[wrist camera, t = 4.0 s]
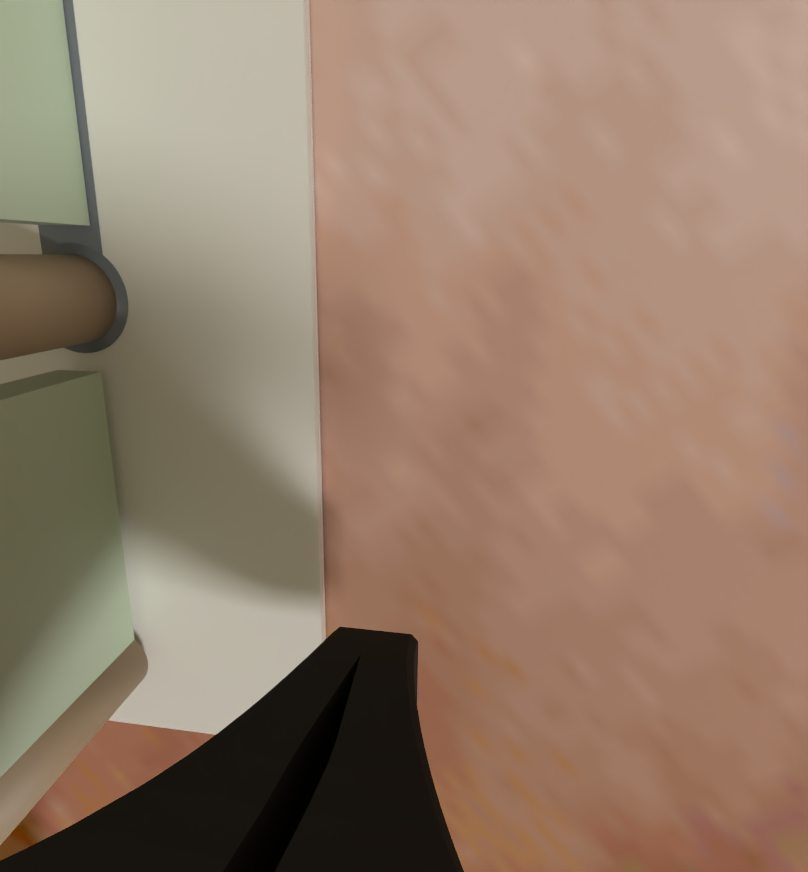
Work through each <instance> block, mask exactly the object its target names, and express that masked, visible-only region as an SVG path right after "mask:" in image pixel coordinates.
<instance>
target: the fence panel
mask: <svg viewBox="0 0 808 872" xmlns="http://www.w3.org/2000/svg"><path fill="white" fill-rule="evenodd" d="M147 671H148V660H147V656H146V654H145V652H144V650H143V648H142V647H141V646H140V644H139V643H138V642H137V641H136V640H134V632H133V624H132V616H131V608H130V600H129V592H128V584H127V576H126V568H125V560H124V552H123V544H122V536H121V528H120V520H119V512H118V504H117V496H116V488H115V480H114V472H113V464H112V456H111V448H110V440H109V432H108V424H107V416H106V408H105V400H104V392H103V384H102V376H101V372H96V371H74V370H55V371H51V372H47V373H43V374H39V375H35V376H31V377H27V378H23V379H19V380H15V381H11V382H7V383H3V384H0V845H1V844H2V843H3V842H4V840H5V839H6V838H7V837H8V836H9V835H10V833H11V832H12V831H13V830H14V829H15V828H16V826H17V825H18V824H19V823H20V822H21V821H22V820H23V818H24V817H25V816H26V815H27V814H28V813H29V811H30V810H31V809H32V808H33V807H34V806H35V804H36V803H37V802H38V801H39V800H40V799H41V797H42V796H43V795H44V794H45V793H46V792H47V790H48V789H49V788H50V787H51V786H52V785H53V784H54V782H55V781H56V780H57V779H58V778H59V777H60V775H61V774H62V773H63V772H64V771H65V770H66V768H67V767H68V766H69V765H70V764H71V763H72V761H73V760H74V759H75V758H76V757H77V756H78V754H79V753H80V752H81V751H82V750H83V749H84V747H85V746H86V745H87V744H88V743H89V742H90V741H91V739H92V738H93V737H94V736H95V735H96V734H97V732H98V731H99V730H100V729H101V728H102V727H103V725H104V724H105V723H106V722H107V721H108V720H109V718H110V717H111V716H112V715H113V714H114V713H115V711H116V710H117V709H118V708H119V707H120V706H121V704H122V703H123V702H124V701H125V700H126V699H127V698H128V696H129V695H130V694H131V693H132V692H133V691H134V689H135V688H136V687H137V686H138V685H139V684H140V682H141V681H142V680H143V679H144V678H145V676H146V674H147Z"/></svg>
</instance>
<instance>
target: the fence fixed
mask: <svg viewBox="0 0 808 872" xmlns="http://www.w3.org/2000/svg"><path fill="white" fill-rule="evenodd" d="M0 222H3V223H18V224H33V225H77V226H90V222H89V214H88V206H87V197H86V189H85V181H84V173H83V165H82V156H81V148H80V140H79V132H78V124H77V115H76V107H75V99H74V91H73V83H72V74H71V66H70V58H69V50H68V42H67V33H66V25H65V17H64V9H63V1H62V0H0ZM116 311H117V301H116V295H115V291H114V288H113V286H112V283H111V282H110V280H109V278H108V276H107V275H106V274H105V272H104V271H103V270H102V269H101V268H100V267H99V266H98V265H97V264H95V263H94V262H93V261H91V260H89V259H87V258H85V257H82V256H79V255H71V254H0V360H5V359H10V358H15V357H20V356H25V355H29V354H34V353H39V352H44V351H49V350H54V349H59V348H64V347H69V346H73V345H78V344H83V343H88V342H93V341H95V340H98V339H100V338H101V337H103V336H104V335H105V334H106V333H107V332H108V331H109V330H110V328H111V327H112V325H113V323H114V320H115V317H116Z"/></svg>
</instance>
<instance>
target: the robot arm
mask: <svg viewBox="0 0 808 872" xmlns="http://www.w3.org/2000/svg"><path fill="white" fill-rule="evenodd" d="M417 666H418V641H417V640H416V639H415V638H414V637H413V635H412V634H403V633H393V632H384V631H374V630H365V629H356V628H346V627H339V628H338V629H337V630H336V631H334V632H333V633H332V634H331V635H330V636H329V637H328V638H327V639H326V640H324V641H323V642H322V643H321V644H320V645H319V646H318V647H317V648H316V649H315V650H314V651H313V652H312V653H311V654H310V655H309V656H308V657H307V658H305V659H304V660H303V661H302V662H301V663H300V664H299V665H298V666H297V667H296V668H295V669H294V670H293V671H291V672H290V673H289V674H288V675H287V676H286V677H285V678H284V679H282V680H281V681H280V682H279V683H278V684H277V685H276V686H275V687H273V688H272V689H271V690H270V691H269V692H268V693H267V694H265V695H264V696H263V697H262V698H261V699H260V700H259V701H257V702H256V703H255V704H254V705H253V706H251V707H250V708H249V709H248V710H246V711H245V712H244V713H243V714H241V715H240V716H239V717H238V718H236V719H235V720H234V721H233V722H231V723H230V724H229V725H228V726H226V727H225V728H224V729H223V730H221V731H220V732H219V733H218V734H216V735H215V736H214V737H212V738H211V739H210V740H208V741H207V742H206V743H204V744H203V745H202V746H200V747H199V748H197V749H196V750H195V751H193V752H192V753H190V754H189V755H188V756H186V757H185V758H183V759H182V760H180V761H179V762H177V763H176V764H174V765H173V766H171V767H169V768H168V769H166V770H165V771H163V772H162V773H160V774H159V775H157V776H156V777H154V778H153V779H151V780H150V781H148V782H146V783H145V784H143V785H142V786H140V787H138V788H136V789H135V790H133V791H131V792H129V793H128V794H126V795H124V796H122V797H121V798H119V799H117V800H115V801H114V802H112V803H110V804H108V805H107V806H105V807H103V808H101V809H100V810H98V811H96V812H94V813H93V814H91V815H89V816H87V817H86V818H84V819H82V820H81V821H79V822H77V823H75V824H73V825H72V826H70V827H68V828H66V829H64V830H62V831H60V832H58V833H56V834H54V835H52V836H50V837H48V838H46V839H44V840H42V841H40V842H38V843H36V844H34V845H32V846H30V847H28V848H27V849H24V850H22V851H20V852H18V853H16V854H14V855H12V856H10V857H8V858H5V859H3V860H1V861H0V872H464V871H463V868H462V866H461V863H460V861H459V858H458V855H457V852H456V850H455V847H454V844H453V841H452V839H451V836H450V833H449V831H448V828H447V825H446V822H445V818H444V815H443V812H442V809H441V806H440V803H439V800H438V797H437V793H436V790H435V786H434V783H433V779H432V776H431V772H430V768H429V764H428V760H427V756H426V752H425V748H424V743H423V738H422V733H421V728H420V722H419V716H418V710H417Z"/></svg>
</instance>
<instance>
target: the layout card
mask: <svg viewBox="0 0 808 872" xmlns="http://www.w3.org/2000/svg"><path fill="white" fill-rule="evenodd" d="M62 1H63V9H64V17H65V25H66V33H67V42H68V50H69V58H70V66H71V74H72V83H73V91H74V99H75V107H76V115H77V124H78V132H79V140H80V148H81V156H82V165H83V173H84V181H85V189H86V197H87V206H88V214H89V222H90V226H77V225H33V224H18V223H3V222H0V254H71V255H79V256H82V257H85V258H87V259H89V260H91V261H93V262H94V263H95V264H97V265H98V266H99V267H100V268H101V269H102V270H103V271H104V272H105V274H106V275H107V276H108V278H109V280H110V282H111V283H112V286H113V288H114V291H115V295H116V301H117V311H116V317H115V320H114V323H113V325H112V327H111V328H110V330H109V331H108V332H107V333H106V334H105V335H104V336H103V337H101V338H100V339H98V340H95V341H93V342H88V343H83V344H78V345H73V346H69V347H64V348H59V349H54V350H49V351H44V352H39V353H34V354H29V355H25V356H20V357H15V358H10V359H5V360H0V384H3V383H7V382H11V381H15V380H19V379H23V378H27V377H31V376H35V375H39V374H43V373H47V372H51V371H55V370H74V371H96V372H101V376H102V384H103V392H104V400H105V408H106V416H107V424H108V432H109V440H110V448H111V456H112V464H113V472H114V480H115V488H116V496H117V504H118V512H119V520H120V528H121V536H122V544H123V552H124V560H125V568H126V576H127V584H128V592H129V600H130V608H131V616H132V624H133V632H134V640H136V641H137V642H138V643H139V644H140V646H141V647H142V648H143V650H144V652H145V654H146V656H147V660H148V671H147V674H146V676H145V678H144V679H143V680H142V681H141V682H140V684H139V685H138V686H137V687H136V688H135V689H134V691H133V692H132V693H131V694H130V695H129V696H128V698H127V699H126V700H125V701H124V702H123V703H122V704H121V706H120V707H119V708H118V709H117V710H116V711H115V713H114V714H113V715H112V716H111V717H110V718H109V720H110V721H118V722H125V723H133V724H140V725H148V726H155V727H163V728H170V729H178V730H185V731H193V732H200V733H208V734H215V735H216V734H218V733H219V732H220V731H221V730H223V729H224V728H225V727H226V726H228V725H229V724H230V723H231V722H233V721H234V720H235V719H236V718H238V717H239V716H240V715H241V714H243V713H244V712H245V711H246V710H248V709H249V708H250V707H251V706H253V705H254V704H255V703H256V702H257V701H259V700H260V699H261V698H262V697H263V696H264V695H265V694H267V693H268V692H269V691H270V690H271V689H272V688H273V687H275V686H276V685H277V684H278V683H279V682H280V681H281V680H282V679H284V678H285V677H286V676H287V675H288V674H289V673H290V672H291V671H293V670H294V669H295V668H296V667H297V666H298V665H299V664H300V663H301V662H302V661H303V660H304V659H305V658H307V657H308V656H309V655H310V654H311V653H312V652H313V651H314V650H315V649H316V648H317V647H318V646H319V645H320V644H321V643H322V642H323V641H324V640H326V625H325V587H324V549H323V511H322V473H321V434H320V396H319V358H318V320H317V282H316V243H315V205H314V167H313V129H312V91H311V53H310V14H309V0H62Z"/></svg>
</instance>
